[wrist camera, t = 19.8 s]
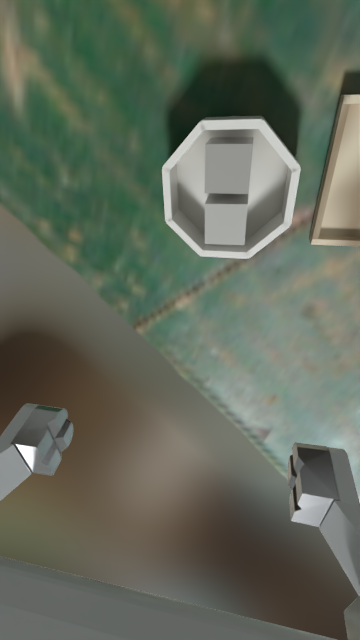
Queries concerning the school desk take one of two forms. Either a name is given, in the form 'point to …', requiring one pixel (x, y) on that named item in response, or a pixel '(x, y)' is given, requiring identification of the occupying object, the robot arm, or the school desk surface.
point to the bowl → (264, 187)
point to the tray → (340, 181)
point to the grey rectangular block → (228, 165)
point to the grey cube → (226, 218)
